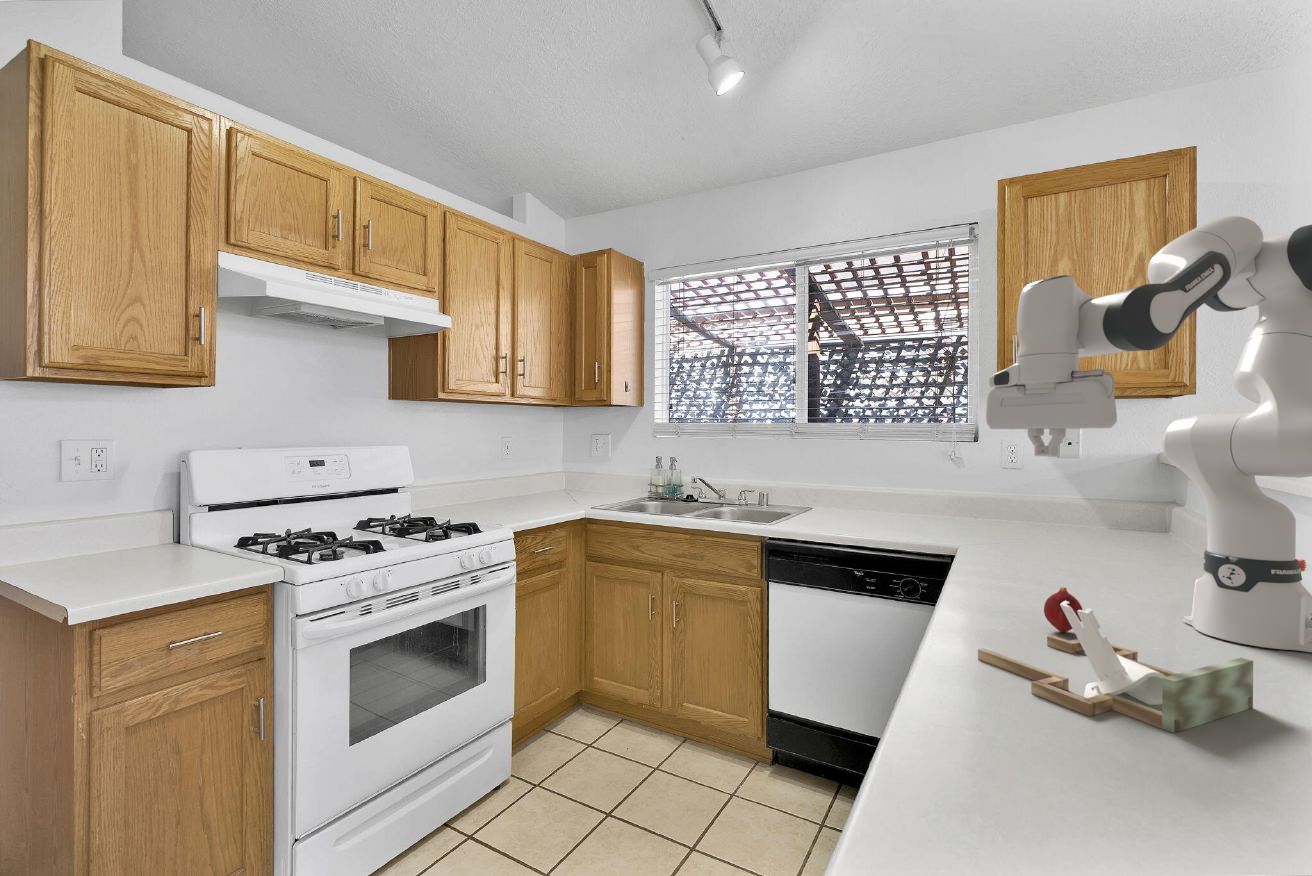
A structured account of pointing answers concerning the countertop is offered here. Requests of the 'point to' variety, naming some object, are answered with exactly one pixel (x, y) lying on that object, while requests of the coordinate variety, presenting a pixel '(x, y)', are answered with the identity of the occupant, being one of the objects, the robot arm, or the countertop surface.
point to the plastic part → (1112, 663)
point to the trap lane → (1182, 694)
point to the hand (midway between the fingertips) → (1046, 456)
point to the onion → (1060, 609)
